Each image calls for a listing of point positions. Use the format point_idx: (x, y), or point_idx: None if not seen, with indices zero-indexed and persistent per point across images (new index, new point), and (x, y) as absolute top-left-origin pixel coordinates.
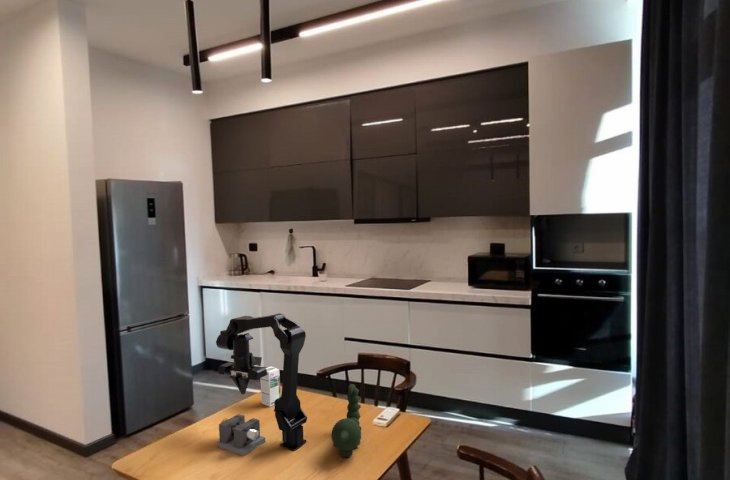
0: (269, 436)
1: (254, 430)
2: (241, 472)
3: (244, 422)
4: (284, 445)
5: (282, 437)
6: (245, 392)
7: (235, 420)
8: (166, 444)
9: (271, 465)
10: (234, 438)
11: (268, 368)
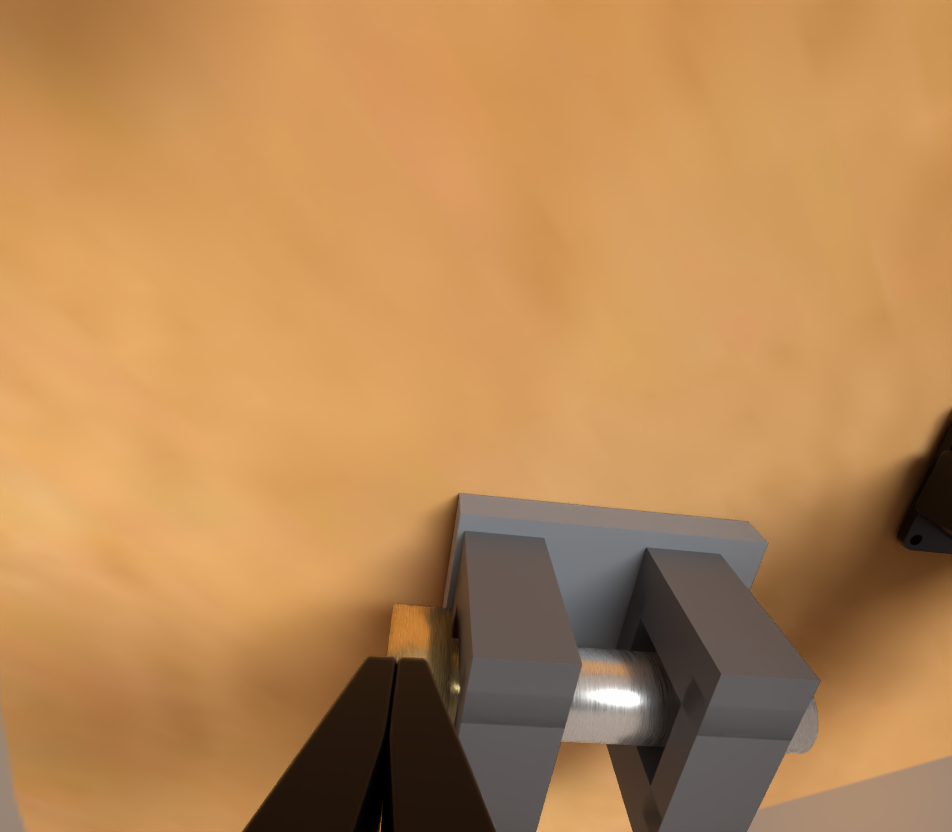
0: (743, 442)
1: (794, 739)
2: None
3: (562, 607)
4: (944, 546)
5: (947, 531)
6: (432, 674)
7: (551, 768)
8: (45, 772)
9: (904, 713)
10: (618, 774)
11: None
